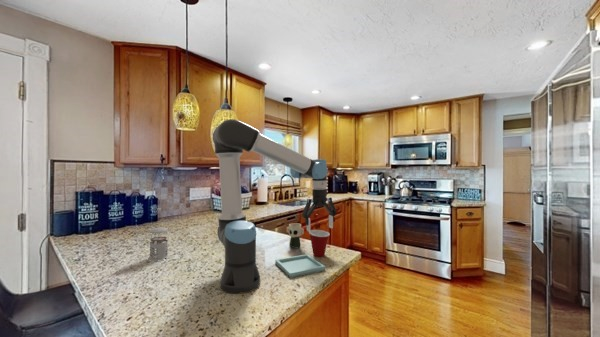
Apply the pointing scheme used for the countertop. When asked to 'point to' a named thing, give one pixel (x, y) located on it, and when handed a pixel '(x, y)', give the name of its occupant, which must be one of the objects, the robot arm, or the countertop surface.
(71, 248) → the countertop surface
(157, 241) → the french press
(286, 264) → the tray
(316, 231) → the plastic cup
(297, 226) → the character mug
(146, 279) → the countertop surface
